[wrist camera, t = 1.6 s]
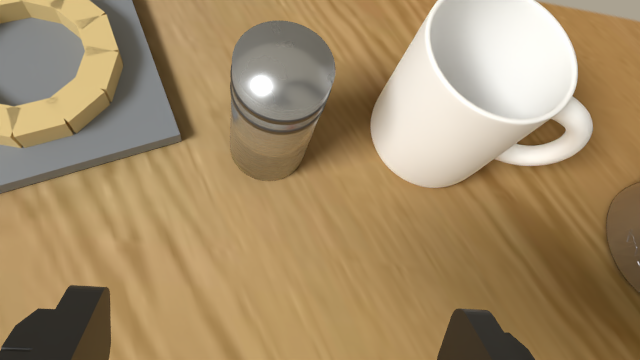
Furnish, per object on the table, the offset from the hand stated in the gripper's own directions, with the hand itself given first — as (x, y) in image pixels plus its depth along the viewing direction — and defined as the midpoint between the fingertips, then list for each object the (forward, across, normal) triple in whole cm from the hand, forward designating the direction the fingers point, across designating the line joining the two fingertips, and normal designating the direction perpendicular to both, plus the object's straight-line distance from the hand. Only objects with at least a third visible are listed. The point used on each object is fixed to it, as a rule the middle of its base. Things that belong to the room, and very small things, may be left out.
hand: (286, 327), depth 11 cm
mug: (+21, -13, +2) cm, 25 cm away
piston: (+20, 0, +3) cm, 21 cm away
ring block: (+23, +14, +1) cm, 27 cm away
